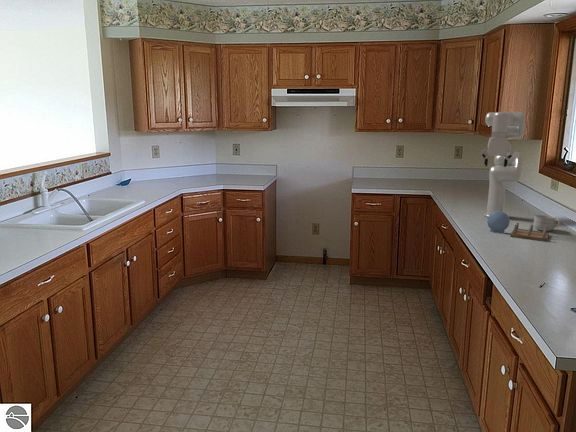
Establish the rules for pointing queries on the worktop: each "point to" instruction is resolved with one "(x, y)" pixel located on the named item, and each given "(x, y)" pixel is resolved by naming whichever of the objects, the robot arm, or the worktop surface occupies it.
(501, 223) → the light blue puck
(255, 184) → the worktop surface
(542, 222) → the teacup
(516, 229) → the dish rack
